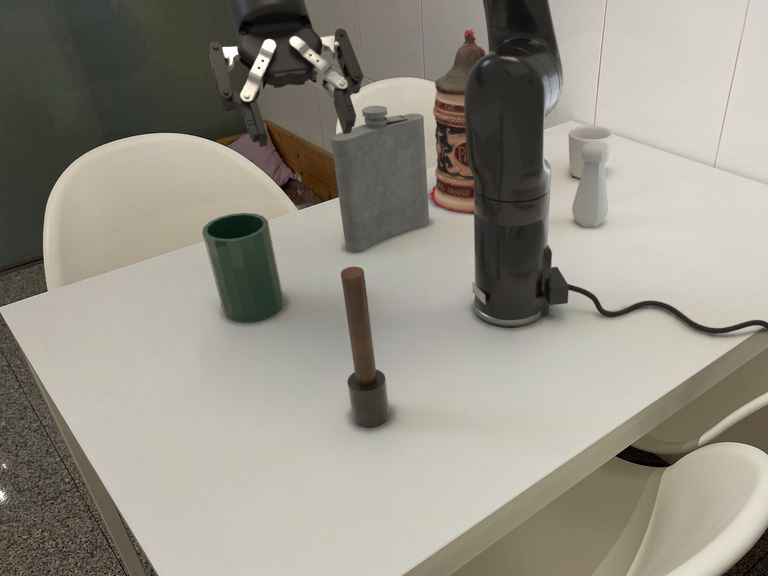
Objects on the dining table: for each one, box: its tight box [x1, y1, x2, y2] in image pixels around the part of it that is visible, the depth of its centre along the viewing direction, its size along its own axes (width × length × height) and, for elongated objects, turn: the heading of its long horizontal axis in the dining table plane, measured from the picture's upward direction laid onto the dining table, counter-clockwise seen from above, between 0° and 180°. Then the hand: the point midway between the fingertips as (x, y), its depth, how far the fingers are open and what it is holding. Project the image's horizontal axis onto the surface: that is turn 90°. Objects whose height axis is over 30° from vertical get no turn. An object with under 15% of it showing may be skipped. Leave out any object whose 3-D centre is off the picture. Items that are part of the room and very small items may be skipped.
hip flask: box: [330, 105, 430, 253], centre depth 107 cm, size 16×4×20 cm, turn 132°
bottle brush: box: [340, 266, 390, 428], centre depth 71 cm, size 4×4×18 cm
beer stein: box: [428, 29, 486, 214], centre depth 117 cm, size 17×28×18 cm
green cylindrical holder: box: [201, 212, 285, 323], centre depth 92 cm, size 8×8×12 cm
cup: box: [567, 125, 614, 179], centre depth 128 cm, size 11×8×8 cm
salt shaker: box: [571, 142, 610, 228], centre depth 111 cm, size 6×6×13 cm
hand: (307, 136), depth 69 cm, fingers open, 8 cm apart
